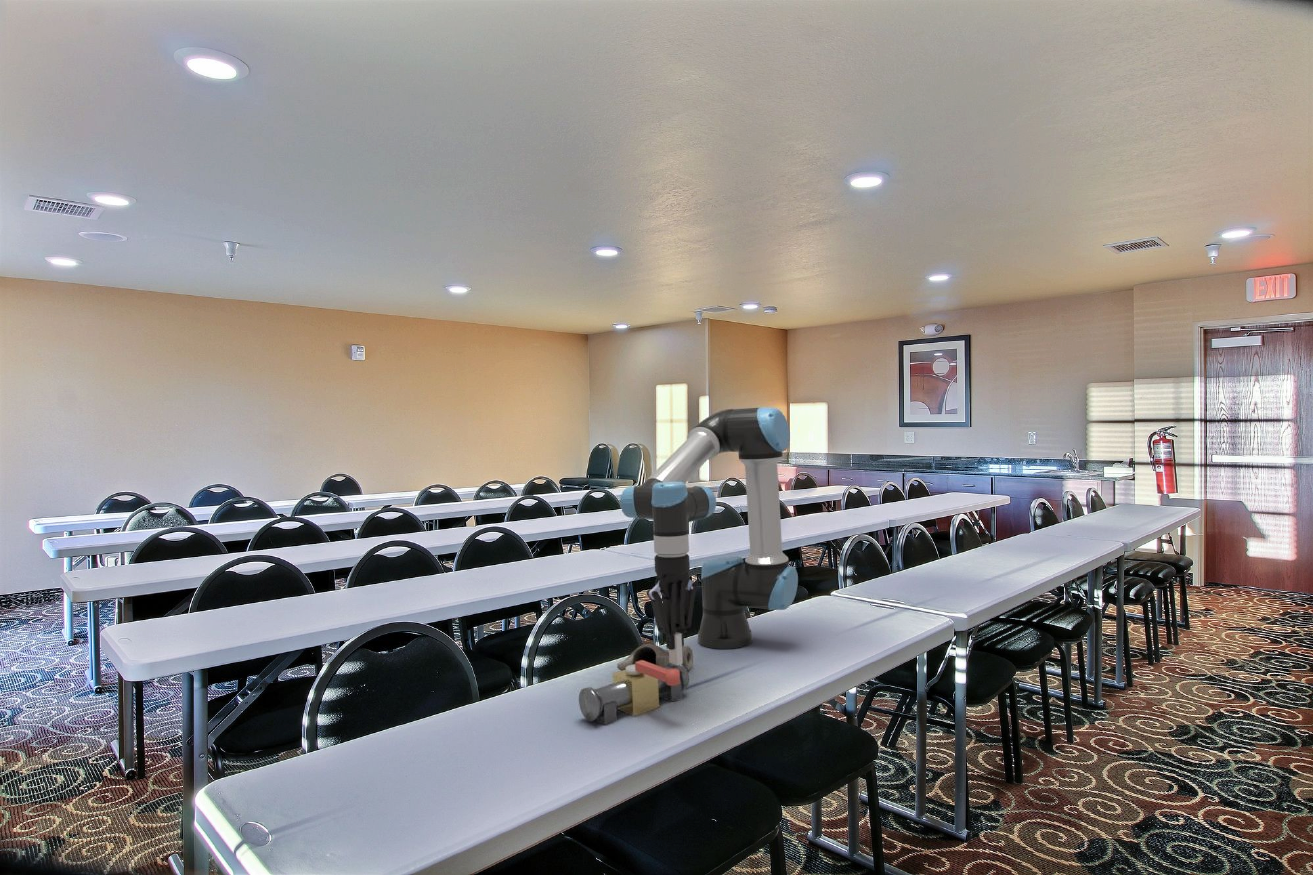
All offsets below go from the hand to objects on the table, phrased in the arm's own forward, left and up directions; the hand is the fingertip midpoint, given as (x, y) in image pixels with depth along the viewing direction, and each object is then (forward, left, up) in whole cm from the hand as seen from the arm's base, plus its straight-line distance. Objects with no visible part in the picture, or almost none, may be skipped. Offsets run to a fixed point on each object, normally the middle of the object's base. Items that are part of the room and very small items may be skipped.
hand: (675, 662), depth 161 cm
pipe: (-11, -20, -10) cm, 25 cm away
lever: (+6, -1, -2) cm, 6 cm away
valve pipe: (+6, -7, -10) cm, 14 cm away
